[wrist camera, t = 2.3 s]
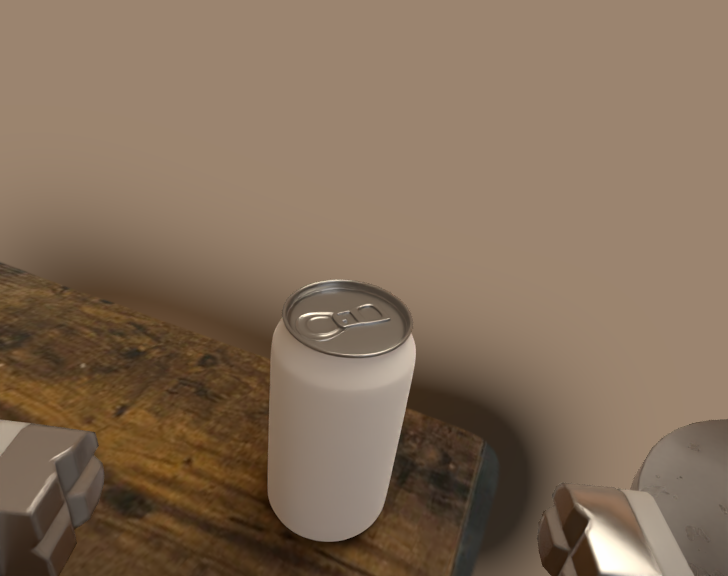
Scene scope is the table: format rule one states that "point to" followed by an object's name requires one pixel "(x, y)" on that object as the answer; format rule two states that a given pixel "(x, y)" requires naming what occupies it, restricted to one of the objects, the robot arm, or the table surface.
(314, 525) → the can
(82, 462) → the robot arm
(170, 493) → the table surface
